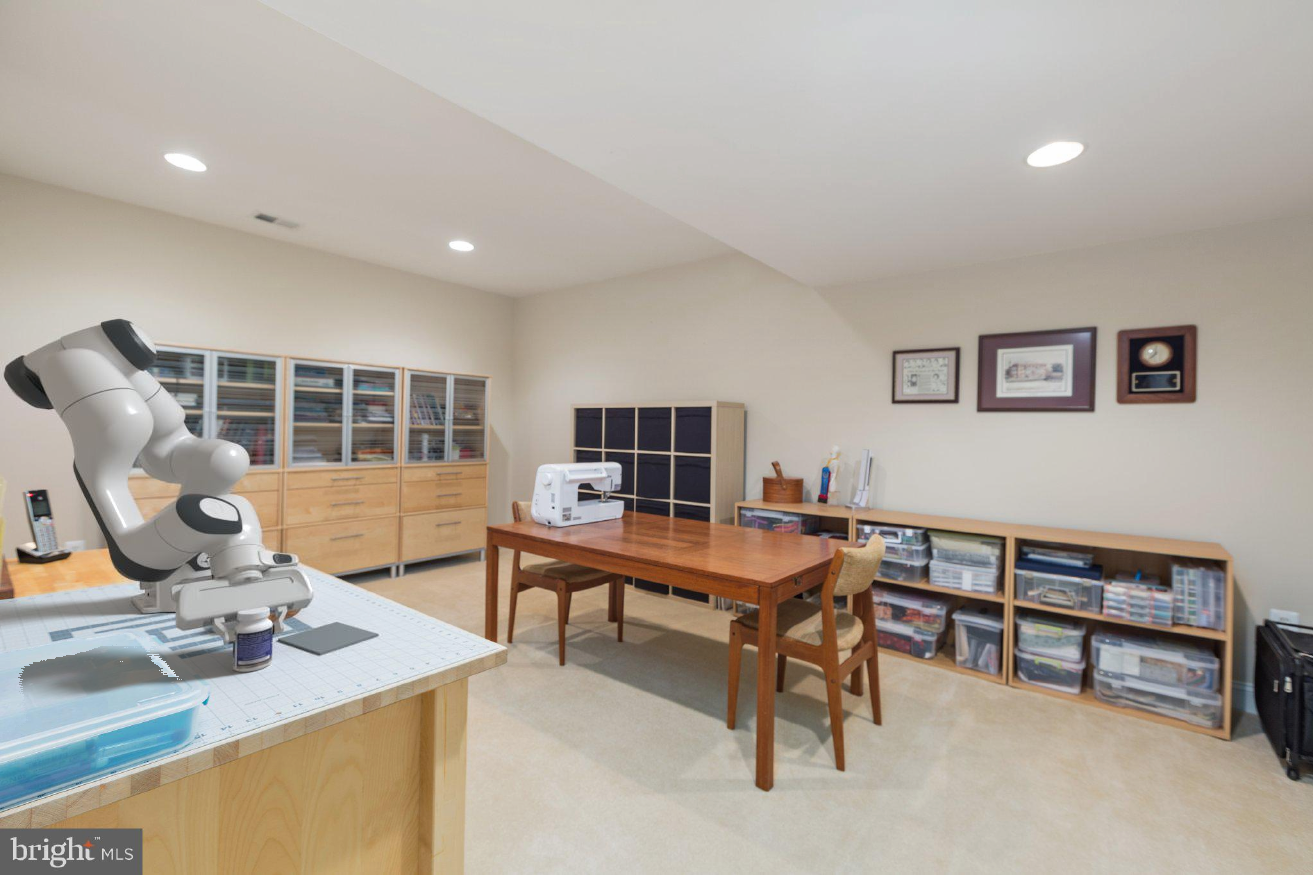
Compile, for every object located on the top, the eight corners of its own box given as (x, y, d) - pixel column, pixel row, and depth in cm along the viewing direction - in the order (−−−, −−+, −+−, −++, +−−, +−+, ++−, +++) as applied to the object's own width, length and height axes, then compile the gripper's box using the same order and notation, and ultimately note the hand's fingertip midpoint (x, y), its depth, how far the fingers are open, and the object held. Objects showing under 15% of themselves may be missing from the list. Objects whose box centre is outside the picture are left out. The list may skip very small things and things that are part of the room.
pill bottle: (279, 662, 103) (280, 607, 102) (247, 675, 97) (249, 616, 97) (256, 657, 104) (257, 603, 104) (224, 669, 99) (225, 612, 99)
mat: (277, 640, 113) (277, 638, 113) (336, 623, 124) (336, 621, 124) (320, 655, 106) (320, 653, 106) (378, 635, 117) (378, 633, 117)
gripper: (171, 570, 97) (181, 643, 91) (306, 553, 112) (323, 614, 106) (166, 591, 100) (175, 663, 94) (298, 572, 115) (314, 632, 109)
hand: (255, 637), depth 100 cm, fingers closed on pill bottle, 6 cm apart
